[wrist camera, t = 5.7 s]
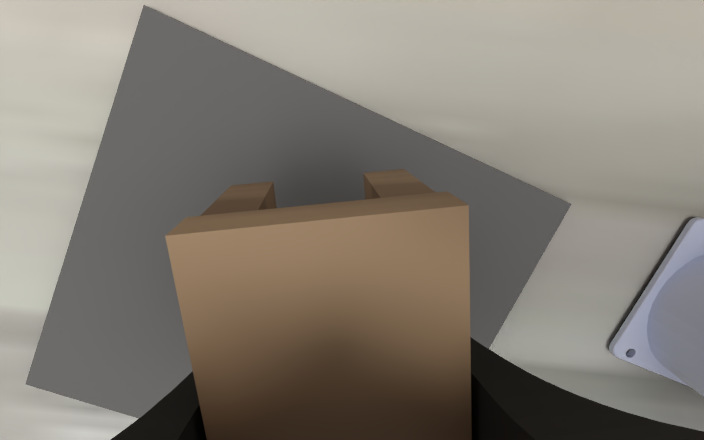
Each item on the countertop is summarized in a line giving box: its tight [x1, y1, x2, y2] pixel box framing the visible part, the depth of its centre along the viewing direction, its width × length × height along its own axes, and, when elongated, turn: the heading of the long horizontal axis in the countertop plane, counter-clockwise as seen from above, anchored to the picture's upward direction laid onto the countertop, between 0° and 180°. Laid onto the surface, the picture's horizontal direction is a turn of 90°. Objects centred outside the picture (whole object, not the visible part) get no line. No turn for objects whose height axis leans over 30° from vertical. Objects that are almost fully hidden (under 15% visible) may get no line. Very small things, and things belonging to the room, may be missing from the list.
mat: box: [26, 5, 571, 418], centre depth 21 cm, size 20×18×1 cm
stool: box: [165, 169, 472, 440], centre depth 11 cm, size 10×5×6 cm, turn 5°
